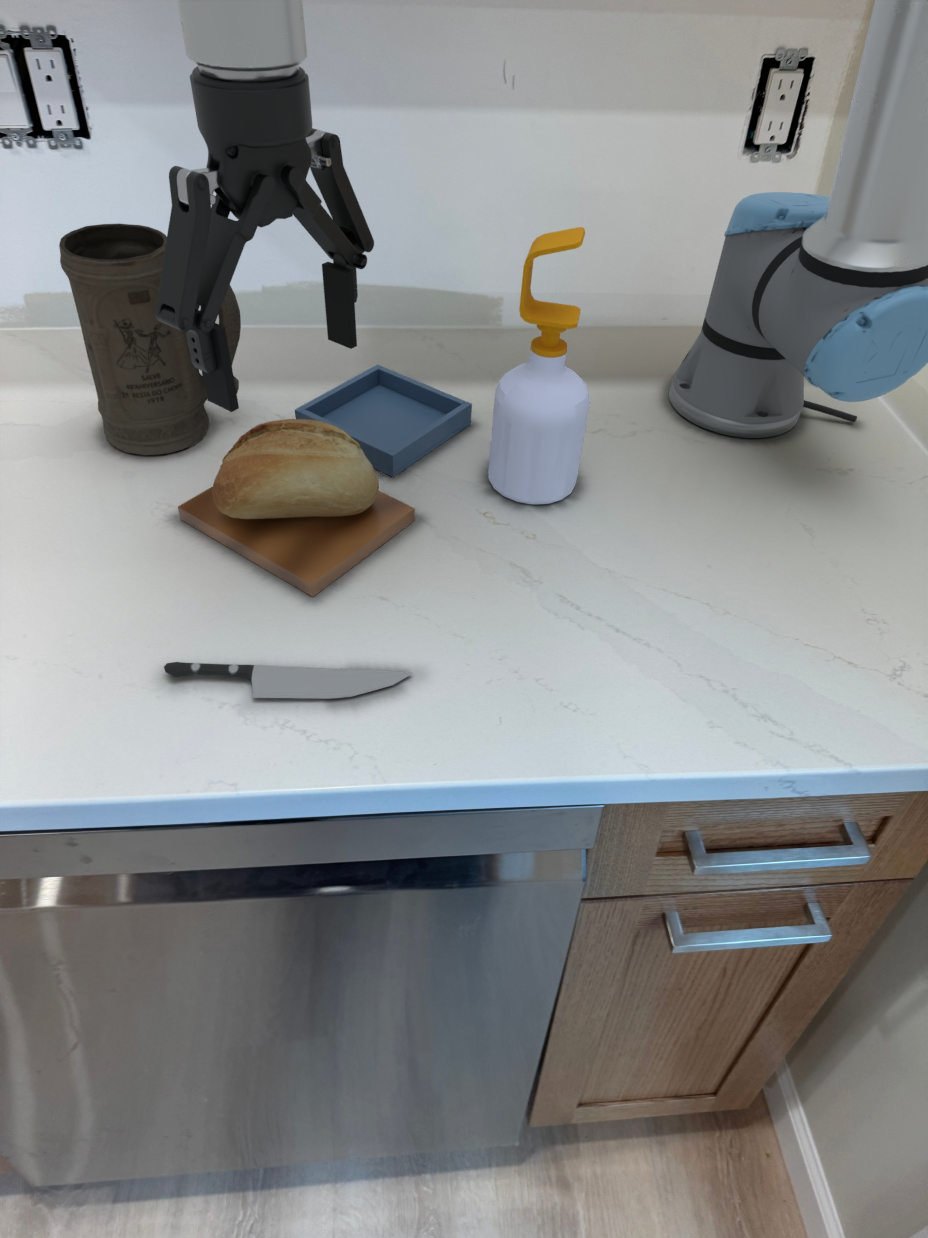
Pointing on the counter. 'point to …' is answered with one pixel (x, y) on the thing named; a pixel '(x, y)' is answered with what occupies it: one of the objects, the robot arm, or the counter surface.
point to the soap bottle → (540, 399)
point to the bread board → (302, 538)
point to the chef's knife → (295, 679)
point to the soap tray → (390, 416)
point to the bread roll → (294, 473)
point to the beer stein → (137, 339)
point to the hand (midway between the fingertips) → (286, 372)
